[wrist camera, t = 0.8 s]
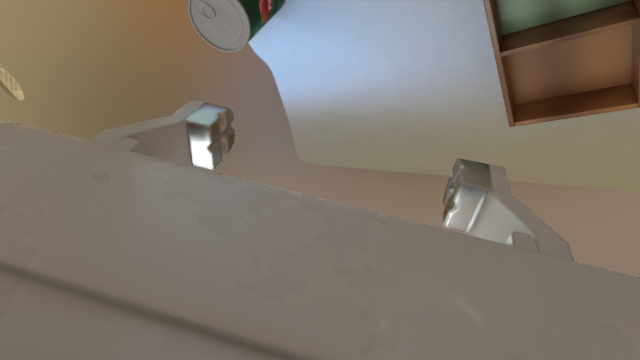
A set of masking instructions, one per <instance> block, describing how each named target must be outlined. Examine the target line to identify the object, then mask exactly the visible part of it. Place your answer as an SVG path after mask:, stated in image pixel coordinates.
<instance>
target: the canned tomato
mask: <svg viewBox="0 0 640 360" xmlns="http://www.w3.org/2000/svg"><path fill="white" fill-rule="evenodd" d="M284 3H285V0H188V13H189V17H190V20H191V22H192V25H193V27H194V28H195V30H196V32H197V33H198V34H199V35H200V37H201V38H202V39H203V40H204V41H205V42H206V43H208V44H209V45H210V46H212V47H214V48H215V49H218V50H220V51H224V52H236V51H239V50H241V49H242V48H243V47H244V46H245V45H246V44H247V43H248V42H249V41H250V40H251V39H252V38H253V37H254V36H255V35H256V34H257V33H258V31H259V30H260V29H261V28H262V27H263V26H264V25H265V24H266V23H267V22H268V21H269V20H270V19H271V18H272V17H273V16H274V15H275V14H276V13H277V12H278V11H279V10H280V9H281V8H282V6H283V5H284Z"/></svg>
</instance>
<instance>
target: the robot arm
mask: <svg viewBox="0 0 640 360" xmlns="http://www.w3.org/2000/svg"><path fill="white" fill-rule="evenodd" d="M233 120H234V117H233V111H232V109H231V108H228V107H223V106H219V105H215V104H211V103H206V102H203V101H198V100H191V101H190V102H188V103H187V104H186V105H184V106H183V107H182V108H181V109H180V110H178V111H177V112H175V113H174V114H173V115H172V116H170V117H161V118H157V119H153V120H148V121H144V122H139V123H135V124H130V125H126V126H122V127H117V128H112V129H108V130H103V131H102V132H100V133H99V134H98V135H96V136H94V137H93V138H92V139H90V140H89V141H87V140H83V139H79V138H75V137H71V136H67V135H63V134H59V133H55V132H51V131H47V130H43V129H39V128H35V127H31V126H27V125H22V124H19V123H15V122H11V121H7V120H3V119H0V360H640V277H636V276H631V275H627V274H624V273H620V272H616V271H612V270H607V269H604V268H600V267H596V266H592V265H587V264H584V263H580V262H575V261H574V259H573V256H572V253H571V250H570V247H569V244H568V243H567V242H566V241H565V240H564V239H563V238H562V237H561V236H559V235H558V234H557V233H556V232H555V231H554V230H553V229H552V228H550V227H549V226H548V225H547V224H546V223H545V222H544V221H543V220H541V219H540V218H539V217H538V216H537V215H536V214H535V213H533V212H532V211H531V210H530V209H529V208H528V207H527V206H526V205H524V204H523V203H522V202H521V201H520V200H519V199H517V197H515V196H511V193H510V188H509V184H508V179H507V175H506V170H505V168H504V167H500V166H495V165H489V164H485V163H480V162H474V161H469V160H464V159H457V160H456V162H455V164H454V167H453V177H451V178H450V179H449V180H448V183H447V186H446V189H445V193H444V199H443V205H444V206H445V209H444V212H443V226H444V227H447V228H451V229H454V230H458V231H462V232H465V233H469V234H468V235H467V234H463V233H459V232H455V231H450V230H446V229H442V228H438V227H434V226H430V225H426V224H422V223H418V222H414V221H410V220H406V219H402V218H398V217H394V216H390V215H386V214H382V213H378V212H374V211H369V210H366V209H362V208H357V207H354V206H350V205H345V204H341V203H337V202H333V201H329V200H325V199H321V198H317V197H313V196H309V195H305V194H301V193H297V192H293V191H289V190H285V189H281V188H277V187H273V186H269V185H264V184H261V183H257V182H252V181H248V180H244V179H241V178H237V177H232V176H228V175H225V174H221V173H216V172H213V171H208V170H204V169H200V168H196V167H192V165H195V166H199V167H204V168H208V169H215V167H216V166H217V165H218V164H219V163H220V162H221V161H222V155H224V154H227V153H228V152H229V151H230V150H231V148H232V146H233V143H234V137H235V134H234V129H233V128H232V126H231V123H232V121H233Z"/></svg>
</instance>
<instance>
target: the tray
mask: <svg viewBox="0 0 640 360" xmlns="http://www.w3.org/2000/svg"><path fill="white" fill-rule="evenodd" d="M483 1H484V6H485V11H486V16H487V21H488V26H489V30H490V35H491V40H492V45H493V50H494V54H495V59H496V64H497V69H498V74H499V78H500V83H501V88H502V93H503V98H504V103H505V107H506V112H507V117H508V122H509V127H513V126H520V125H527V124H534V123H540V122H547V121H553V120H560V119H567V118H573V117H580V116H587V115H593V114H600V113H606V112H613V111H620V110H626V109H633V108H639V107H640V0H483Z"/></svg>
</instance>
